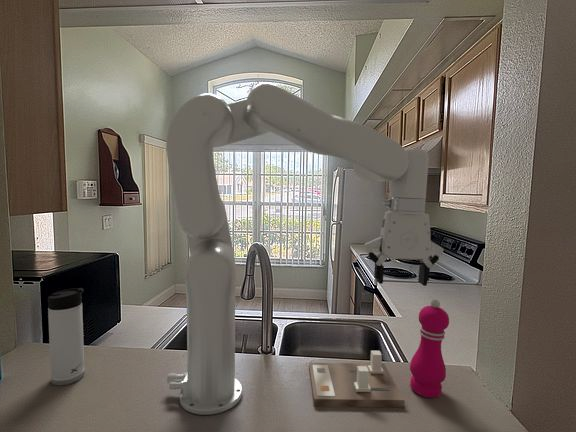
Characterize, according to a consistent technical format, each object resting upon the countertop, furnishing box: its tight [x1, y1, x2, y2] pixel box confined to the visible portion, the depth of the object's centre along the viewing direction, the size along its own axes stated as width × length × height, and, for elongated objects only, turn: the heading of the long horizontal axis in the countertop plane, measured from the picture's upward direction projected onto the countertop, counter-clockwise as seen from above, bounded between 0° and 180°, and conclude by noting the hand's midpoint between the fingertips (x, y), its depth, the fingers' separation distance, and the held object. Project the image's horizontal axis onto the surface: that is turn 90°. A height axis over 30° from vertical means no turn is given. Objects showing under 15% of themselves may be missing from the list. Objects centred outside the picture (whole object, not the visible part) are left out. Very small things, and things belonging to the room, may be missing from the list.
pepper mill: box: [409, 299, 450, 399], centre depth 73 cm, size 7×7×20 cm
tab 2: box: [368, 350, 384, 374], centre depth 78 cm, size 3×2×4 cm
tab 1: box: [354, 366, 371, 392], centre depth 71 cm, size 3×2×4 cm
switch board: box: [308, 362, 405, 408], centre depth 75 cm, size 18×14×2 cm
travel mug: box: [47, 287, 85, 386], centre depth 75 cm, size 6×7×20 cm
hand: (400, 283), depth 76 cm, fingers open, 9 cm apart
